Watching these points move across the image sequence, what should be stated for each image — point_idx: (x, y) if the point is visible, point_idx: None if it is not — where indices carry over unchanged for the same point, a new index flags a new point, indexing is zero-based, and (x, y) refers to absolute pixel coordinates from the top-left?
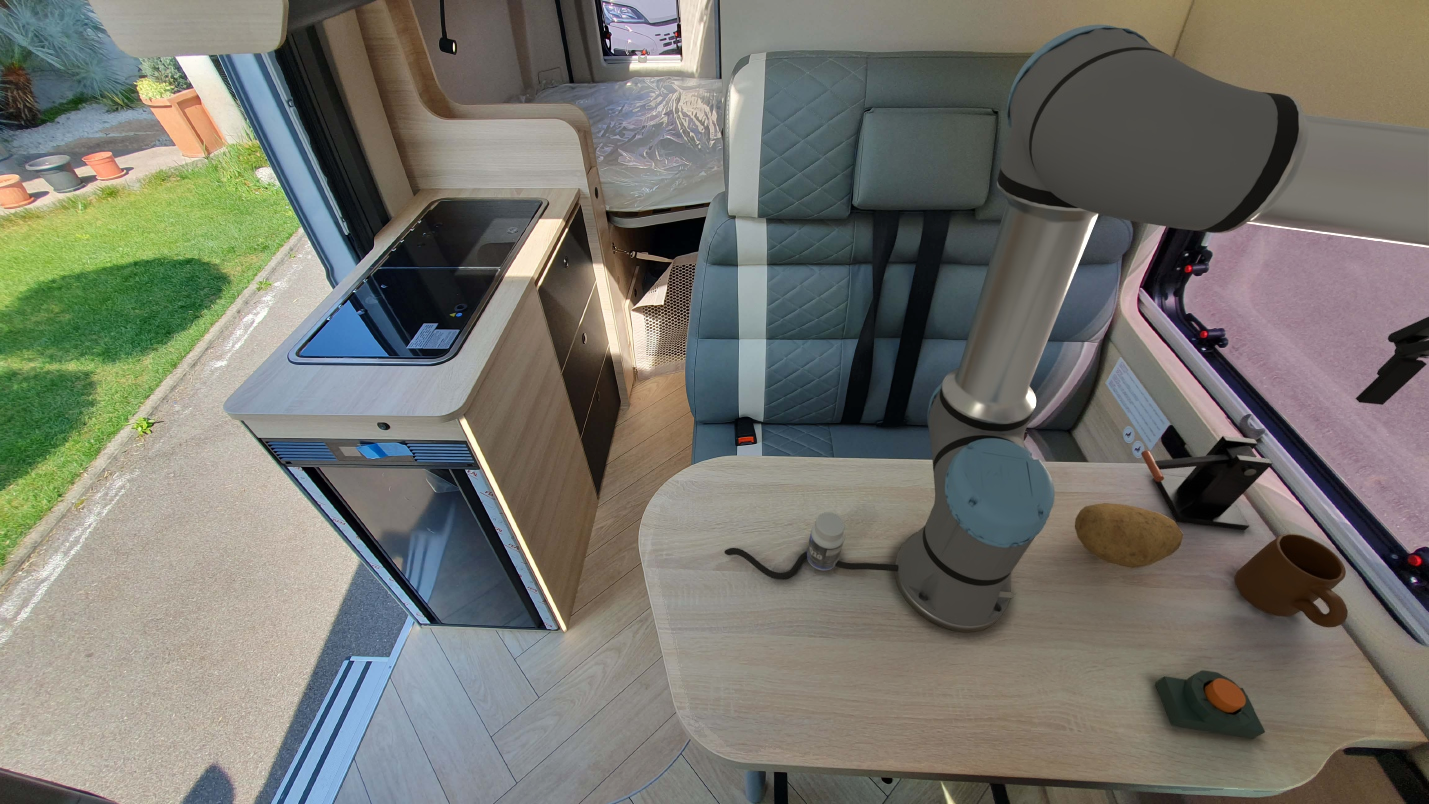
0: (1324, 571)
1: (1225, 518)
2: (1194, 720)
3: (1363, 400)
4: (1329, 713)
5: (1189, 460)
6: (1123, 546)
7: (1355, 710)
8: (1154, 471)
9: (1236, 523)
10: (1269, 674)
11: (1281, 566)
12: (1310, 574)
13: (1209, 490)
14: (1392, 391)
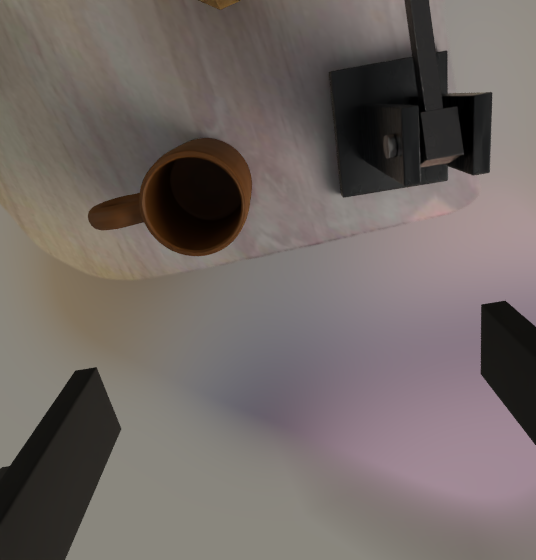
0: (207, 240)
1: (350, 159)
2: None
3: (486, 315)
4: (31, 203)
5: (422, 30)
6: None
7: (54, 237)
8: None
9: (342, 175)
10: (55, 141)
11: (164, 155)
12: (143, 188)
13: (375, 105)
14: (514, 403)
